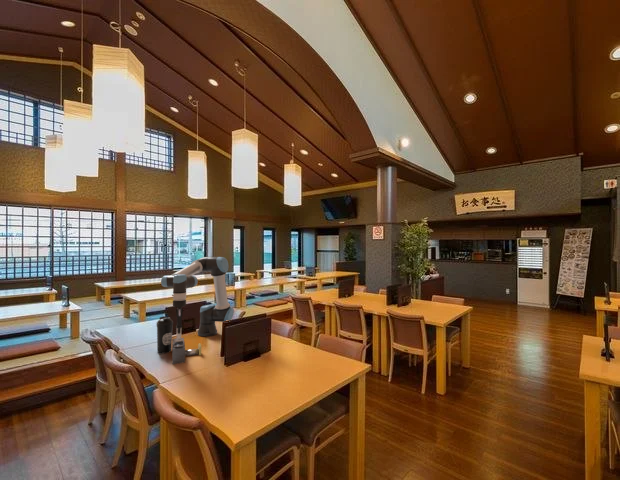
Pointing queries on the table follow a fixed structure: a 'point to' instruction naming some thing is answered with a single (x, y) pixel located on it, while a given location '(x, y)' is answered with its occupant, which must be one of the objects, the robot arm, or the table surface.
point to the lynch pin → (194, 351)
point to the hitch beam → (178, 352)
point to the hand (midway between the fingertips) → (178, 338)
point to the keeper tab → (178, 342)
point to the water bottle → (164, 335)
